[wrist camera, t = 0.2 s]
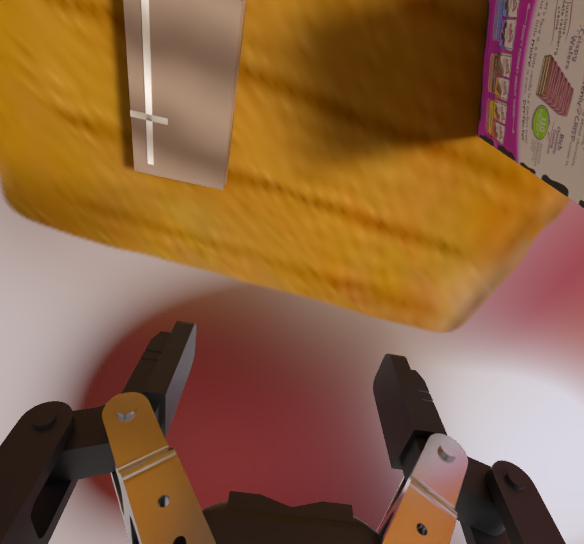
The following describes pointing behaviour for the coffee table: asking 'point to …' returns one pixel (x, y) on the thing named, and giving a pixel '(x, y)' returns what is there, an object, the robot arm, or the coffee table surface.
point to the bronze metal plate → (183, 86)
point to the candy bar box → (536, 88)
